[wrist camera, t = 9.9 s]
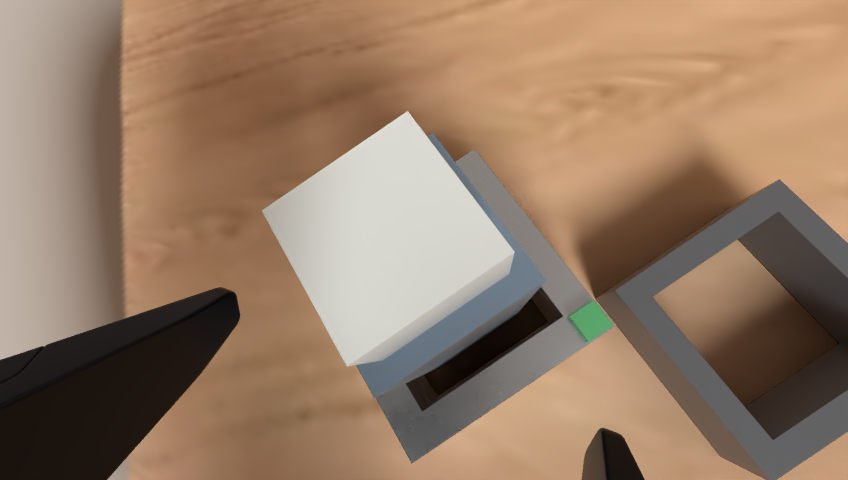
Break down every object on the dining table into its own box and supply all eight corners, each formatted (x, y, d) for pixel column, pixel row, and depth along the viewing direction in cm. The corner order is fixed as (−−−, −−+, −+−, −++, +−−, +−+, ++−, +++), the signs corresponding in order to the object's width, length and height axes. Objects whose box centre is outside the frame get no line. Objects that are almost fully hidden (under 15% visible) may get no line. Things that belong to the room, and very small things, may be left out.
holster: (720, 456, 16) (771, 482, 13) (595, 298, 18) (615, 290, 15) (877, 350, 16) (964, 352, 13) (733, 205, 18) (779, 179, 15)
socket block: (429, 436, 18) (409, 467, 13) (339, 279, 20) (298, 263, 16) (588, 329, 18) (618, 325, 13) (478, 185, 20) (474, 144, 16)
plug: (442, 365, 18) (335, 417, 6) (397, 292, 19) (225, 204, 7) (515, 315, 18) (564, 260, 6) (465, 246, 19) (415, 74, 7)
